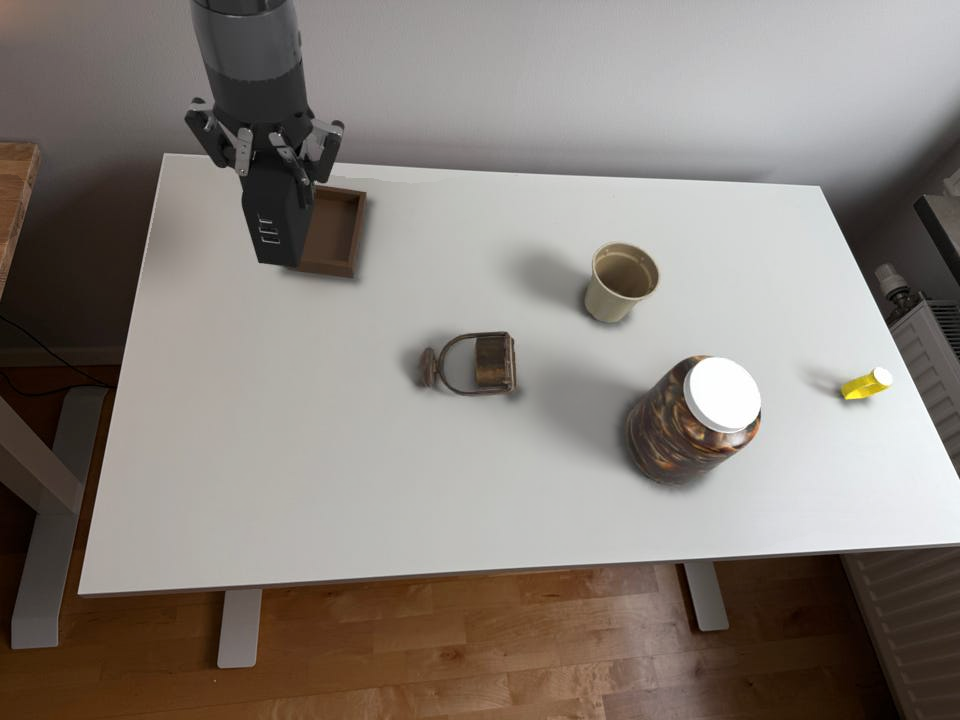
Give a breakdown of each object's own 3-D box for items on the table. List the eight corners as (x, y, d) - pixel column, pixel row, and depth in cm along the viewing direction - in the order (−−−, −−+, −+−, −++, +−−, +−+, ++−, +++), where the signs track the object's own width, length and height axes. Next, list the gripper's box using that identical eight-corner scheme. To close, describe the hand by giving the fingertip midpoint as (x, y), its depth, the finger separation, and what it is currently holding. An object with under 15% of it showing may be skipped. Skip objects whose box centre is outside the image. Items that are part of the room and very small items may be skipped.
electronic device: (258, 266, 64) (238, 200, 55) (278, 196, 68) (263, 125, 60) (298, 271, 64) (285, 206, 55) (316, 201, 69) (306, 131, 60)
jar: (727, 458, 78) (798, 412, 65) (661, 502, 73) (724, 462, 60) (669, 385, 82) (726, 328, 69) (604, 423, 77) (651, 370, 64)
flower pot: (647, 325, 86) (673, 291, 78) (589, 340, 83) (611, 305, 76) (618, 273, 90) (641, 235, 82) (563, 286, 87) (580, 248, 80)
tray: (288, 270, 81) (286, 258, 79) (307, 195, 88) (305, 182, 85) (353, 278, 82) (352, 267, 80) (366, 203, 89) (366, 191, 86)
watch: (838, 405, 85) (868, 387, 79) (829, 387, 86) (859, 368, 81) (873, 402, 86) (905, 383, 81) (865, 384, 87) (896, 365, 82)
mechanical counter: (514, 412, 70) (542, 337, 73) (413, 368, 69) (446, 295, 72) (501, 421, 77) (528, 352, 80) (409, 382, 76) (439, 314, 79)
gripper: (139, 59, 44) (199, 216, 59) (334, 91, 46) (345, 237, 61) (170, 0, 48) (220, 162, 63) (350, 31, 49) (357, 183, 64)
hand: (281, 198), depth 62 cm, fingers closed on electronic device, 4 cm apart
